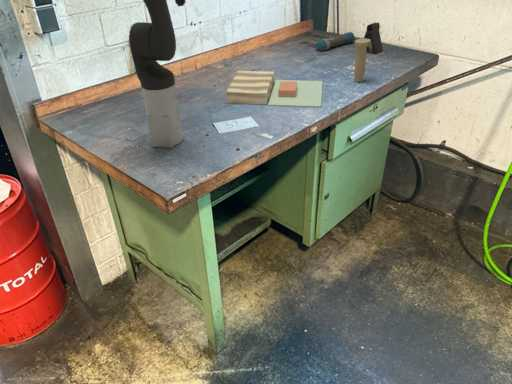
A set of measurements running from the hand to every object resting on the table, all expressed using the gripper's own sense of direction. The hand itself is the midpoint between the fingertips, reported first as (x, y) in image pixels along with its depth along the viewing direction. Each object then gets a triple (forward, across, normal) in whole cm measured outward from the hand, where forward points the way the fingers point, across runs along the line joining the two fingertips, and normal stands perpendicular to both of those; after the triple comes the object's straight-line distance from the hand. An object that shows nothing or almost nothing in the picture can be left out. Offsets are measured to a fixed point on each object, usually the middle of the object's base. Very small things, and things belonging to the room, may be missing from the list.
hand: (181, 5), depth 132 cm
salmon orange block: (+29, +32, +12) cm, 45 cm away
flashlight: (+32, +49, +72) cm, 93 cm away
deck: (+32, +19, +12) cm, 39 cm away
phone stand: (+32, +65, +65) cm, 97 cm away
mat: (+32, +36, +12) cm, 49 cm away
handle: (+32, +58, +26) cm, 71 cm away
